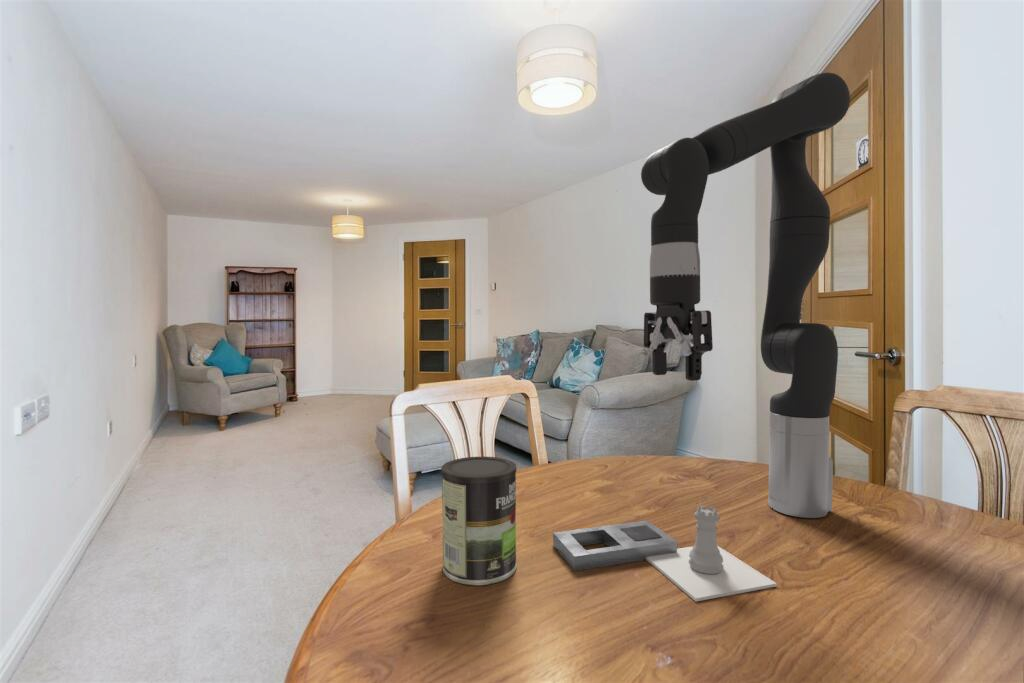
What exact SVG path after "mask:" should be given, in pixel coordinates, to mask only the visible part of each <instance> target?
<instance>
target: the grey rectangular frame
mask: <svg viewBox="0 0 1024 683" xmlns="http://www.w3.org/2000/svg"><path fill="white" fill-rule="evenodd" d="M552 535H553V536H552V539H553V540H552V541H553V542H552V546H553V547H554V549H555V550H556V551H557V552H558V553H559V555H561V557H562V558H563V559H564V560H565V562H566V563H567V564H568V565H569V567H570V568H571V569H572V570H573V571H574V572H576V571H577V572H578V571H582V570H583V571H584V570H590V569H596V568H597V569H598V568H603V567H609V566H614V565H615V566H616V565H621V564H629V563H634V562H641V561H647V560H646V557H650V556H657V555H663V554H670V553H676V552H677V549H678V541H677V540H676V539H674V538H673V537H672V536H670V535H669V534H668V533H666V532H665V531H663V530H661V528H659V527H657V526H656V525H655V524H653V523H652V522H650V521H648V519H646V520H639V521H638V520H637V521H631V522H625V523H617V524H615V523H614V524H609V525H601V526H593V527H585V528H579V529H570V530H563V531H556V532H553V533H552ZM596 544H605V545H606V546H607V547H599V548H592V549H585V548H584V547H583V546H589V545H596Z"/></svg>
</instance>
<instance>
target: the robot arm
mask: <svg viewBox="0 0 1024 683" xmlns="http://www.w3.org/2000/svg"><path fill="white" fill-rule="evenodd" d="M850 94H851V93H850V90H849V87H848V84H847V82H846V81H845V80H844V79H843V78H842V77H841V76H840V75H839V74H838V73H837V74H836V73H834V72H820V73H817V74H813V75H812V76H810V77H807V78H805V79H803V80H801V81H800V82H798V83H796V84H794V85H792V86H791V87H788V88H786V89H784V90H782V91H781V92H780V93H778V94H777V95H776V96H775V97H774V98H773V100H772V102H770V103H769V104H767V105H764V106H761V107H759V108H756V109H753V110H751V111H748V112H746V113H743V114H740V115H737V116H734V117H732V118H729V119H727V120H725V121H722V122H720V123H718V124H714V125H712V126H709V127H707V128H706V129H703V130H702V131H701V132H698V134H696V135H694V136H692V137H682V138H680V139H677V140H675V141H673V142H670V144H667V145H666V146H663V147H661V148H659V149H658V150H656V151H654V152H652V153H651V154H650V155H649V156H648V157H647V158H646V159H645V161H644V163H643V165H642V168H641V172H640V177H641V183H642V185H643V186H644V188H645V189H646V190H647V191H649V192H650V193H651V194H653V195H656V196H657V195H658V196H664V201H663V202H662V204H660V206H659V207H658V208H656V209H655V211H653V213H652V216H651V219H650V239H651V240H650V246H651V247H650V255H649V256H650V257H649V303H650V305H652V306H656V309H655V310H656V311H653V312H652V311H651V312H650V311H649V312H645V313H644V314H643V347H644V348H648V349H649V351H650V352H651V353H652V354H651V356H652V357H651V358H652V360H651V361H652V374H653V375H655V376H665V375H667V372H668V370H667V368H668V367H667V366H668V365H667V354H668V353H667V352H666V350H667V348H668V346H669V344H670V343H672V342H673V340H676V342H677V344H680V345H681V346H682V348H683V350H684V352H685V354H686V355H685V360H684V363H685V364H684V365H685V366H684V367H685V368H684V370H685V379H686V380H687V381H690V382H692V381H693V382H694V381H700V380H701V378H702V373H703V372H702V371H703V369H702V368H703V367H702V365H703V363H702V362H703V360H702V357H703V355H704V354H705V353H707V352H711V351H713V347H714V346H713V344H714V343H713V327H712V326H713V325H712V313H711V311H710V310H696V307H695V305H698V304H699V303H701V257H700V255H701V254H700V249H699V220H698V219H699V214H700V210H701V207H702V204H703V199H704V195H705V191H706V188H707V184H708V183H707V182H708V178H709V177H708V176H710V175H712V174H713V175H714V174H716V173H720V172H722V171H724V170H727V169H728V168H730V167H731V168H732V167H733V166H735V165H737V164H739V163H741V162H743V161H745V160H747V159H749V158H751V157H753V156H755V155H757V154H759V153H760V152H763V151H764V150H767V149H768V148H769V149H770V165H771V208H770V221H769V222H770V223H769V261H768V262H769V263H768V264H769V266H768V278H767V292H766V293H767V294H766V301H765V309H764V315H763V323H762V329H761V335H760V336H761V337H760V352H761V358H762V362H763V363H764V364H765V366H766V367H767V369H769V370H770V371H771V372H775V373H779V374H785V375H791V382H790V386H789V388H788V389H787V390H785V391H783V392H779V393H776V394H774V395H771V397H770V400H769V436H768V437H769V440H768V441H769V443H768V444H769V445H768V450H769V452H768V503H769V504H768V503H767V504H768V506H769V508H771V509H772V508H773V509H772V510H774V511H776V512H778V513H781V514H784V515H787V516H792V517H796V518H797V517H798V518H805V519H819V518H824V517H826V516H827V515H828V513H829V511H832V512H833V487H834V486H833V483H834V482H833V479H834V478H833V477H834V473H833V472H834V460H833V458H832V457H831V456H830V414H831V406H832V404H833V401H834V398H835V394H836V387H837V386H836V384H837V383H836V382H837V374H838V373H837V372H838V361H839V360H838V359H839V347H838V342H837V337H836V335H835V333H834V331H833V330H832V329H831V328H830V327H829V326H828V325H826V324H823V323H817V322H801V311H802V310H801V309H802V304H803V303H802V302H803V299H804V295H805V292H806V289H807V288H808V286H809V284H810V283H811V281H812V279H813V277H814V276H815V274H816V273H817V270H818V269H819V268H820V265H822V262H823V260H824V258H825V256H826V254H827V252H828V248H829V244H830V232H831V231H830V230H831V229H830V228H831V225H830V224H831V208H830V206H829V202H828V201H827V199H826V196H824V194H823V193H822V190H821V189H820V188H819V187H818V184H816V182H815V181H814V180H813V178H812V176H811V175H810V172H809V170H808V167H807V158H806V156H807V155H806V147H807V146H806V145H807V138H808V137H811V136H813V135H816V134H819V133H821V132H825V131H826V130H829V129H830V128H832V127H834V126H836V125H837V124H838V123H839V122H841V121H842V120H843V118H845V116H846V114H847V112H848V110H849V108H850V104H851V103H850V102H851V95H850ZM702 336H703V343H702ZM651 338H652V340H651Z"/></svg>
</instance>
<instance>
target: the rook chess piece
mask: <svg viewBox="0 0 1024 683" xmlns="http://www.w3.org/2000/svg"><path fill="white" fill-rule="evenodd" d="M706 507H707V506H706V505H701V506H697V507H696V511H695V513H693V517H694V518H695V519H696V521H697V523H696V524H695V528H696V537H695V542H694V545H693V549H692V550H691V551H690V554H689V557H690V559H689V564H690V565H691V567H692V568H693V569H694V570H695V571H697V572H700V573H702V574H708V575H715V574H719V573H720V572H721V571H722V570H723V569H724V566H723V564H722V563H723V557H722V555H721V554H720V551H719V549H718V546H719V545H718V541H717V531H718V530H719V529H718V527H717V523H718V522H719V521H720V518H721V517H720V516H719V514H718V513H717V512H718V510H717V508H714V507H712V506H708V509H707V508H706Z"/></svg>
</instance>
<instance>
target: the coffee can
mask: <svg viewBox="0 0 1024 683" xmlns="http://www.w3.org/2000/svg"><path fill="white" fill-rule="evenodd" d="M440 473H441V477H442V478H441V481H442V485H441V487H442V489H441V491H442V493H441V496H442V497H441V499H442V560H443V561H442V572H443V574H444V576H446V578H447V579H450V580H451V581H453V582H455V583H458V584H462V585H465V586H467V585H468V586H487V585H493V584H497V583H500V582H503V581H505V580H507V579H509V578H510V577H511V576H513V575H514V574H515V572H516V570H517V533H516V532H517V531H516V530H517V525H516V524H517V521H516V520H517V515H516V513H517V508H516V507H517V494H516V493H517V492H516V491H517V485H516V484H517V482H516V478H517V476H516V475H517V464H516V463H515V462H514V461H512V460H509V459H506V458H501V457H496V456H468V457H460V458H457V459H453V460H450V461H447V462H445V463H443V464H442V465H441V467H440Z"/></svg>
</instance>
